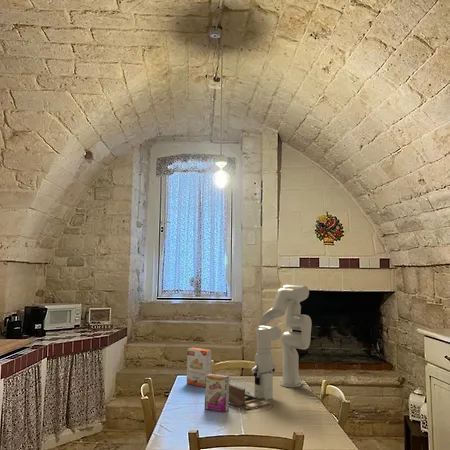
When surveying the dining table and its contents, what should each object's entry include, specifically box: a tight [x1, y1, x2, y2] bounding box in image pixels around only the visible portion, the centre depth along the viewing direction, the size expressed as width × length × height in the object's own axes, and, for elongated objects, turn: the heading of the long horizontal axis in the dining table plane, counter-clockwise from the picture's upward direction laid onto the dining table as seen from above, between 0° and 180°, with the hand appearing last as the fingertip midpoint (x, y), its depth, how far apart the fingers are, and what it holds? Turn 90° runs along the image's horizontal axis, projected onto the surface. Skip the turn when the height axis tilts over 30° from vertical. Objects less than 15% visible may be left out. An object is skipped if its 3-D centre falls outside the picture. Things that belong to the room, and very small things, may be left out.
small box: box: [254, 372, 274, 401], centre depth 236 cm, size 8×6×13 cm
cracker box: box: [186, 347, 212, 388], centre depth 259 cm, size 14×6×21 cm, turn 58°
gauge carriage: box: [245, 391, 262, 401], centre depth 225 cm, size 8×16×2 cm, turn 38°
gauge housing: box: [229, 383, 272, 410], centre depth 226 cm, size 16×18×9 cm
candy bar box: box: [204, 373, 230, 413], centre depth 214 cm, size 11×5×16 cm, turn 71°
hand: (263, 383), depth 236 cm, fingers open, 9 cm apart
